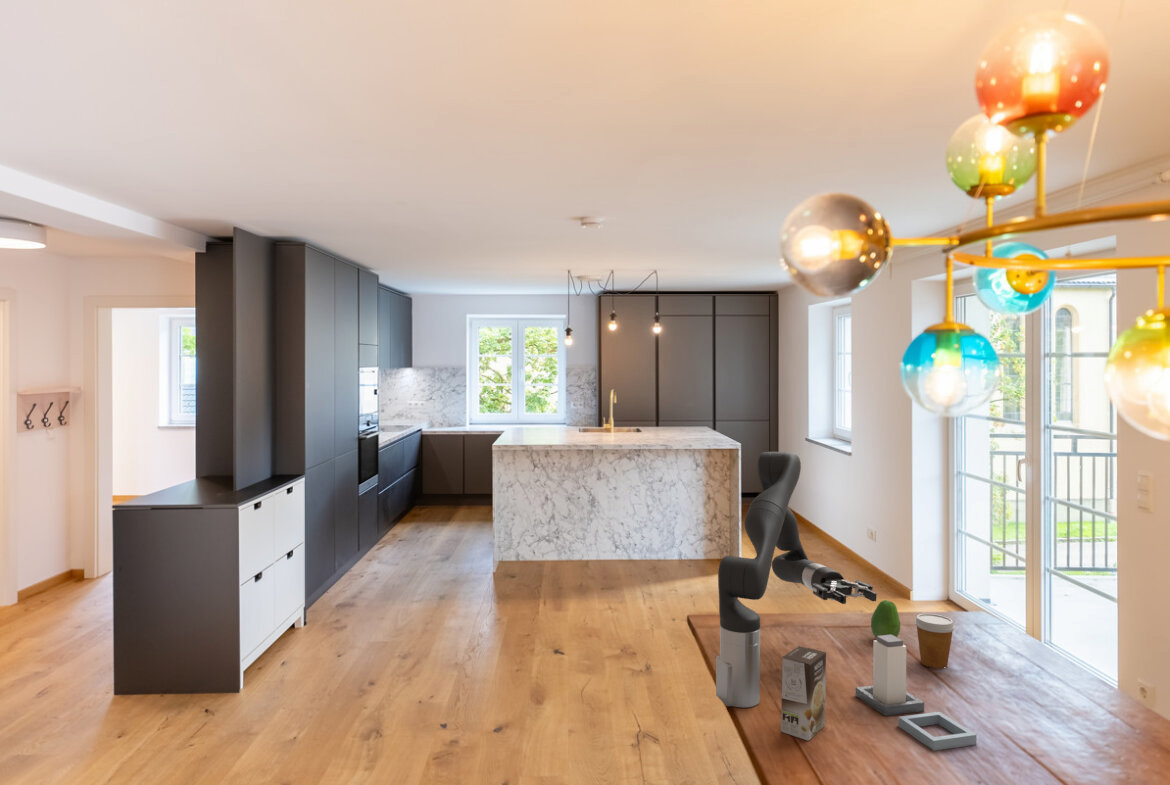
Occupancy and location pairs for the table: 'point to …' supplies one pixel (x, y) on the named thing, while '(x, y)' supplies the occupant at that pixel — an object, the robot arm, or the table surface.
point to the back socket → (889, 709)
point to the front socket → (942, 742)
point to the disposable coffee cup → (934, 639)
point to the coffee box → (803, 692)
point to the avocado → (885, 619)
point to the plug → (889, 669)
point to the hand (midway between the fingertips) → (860, 598)
